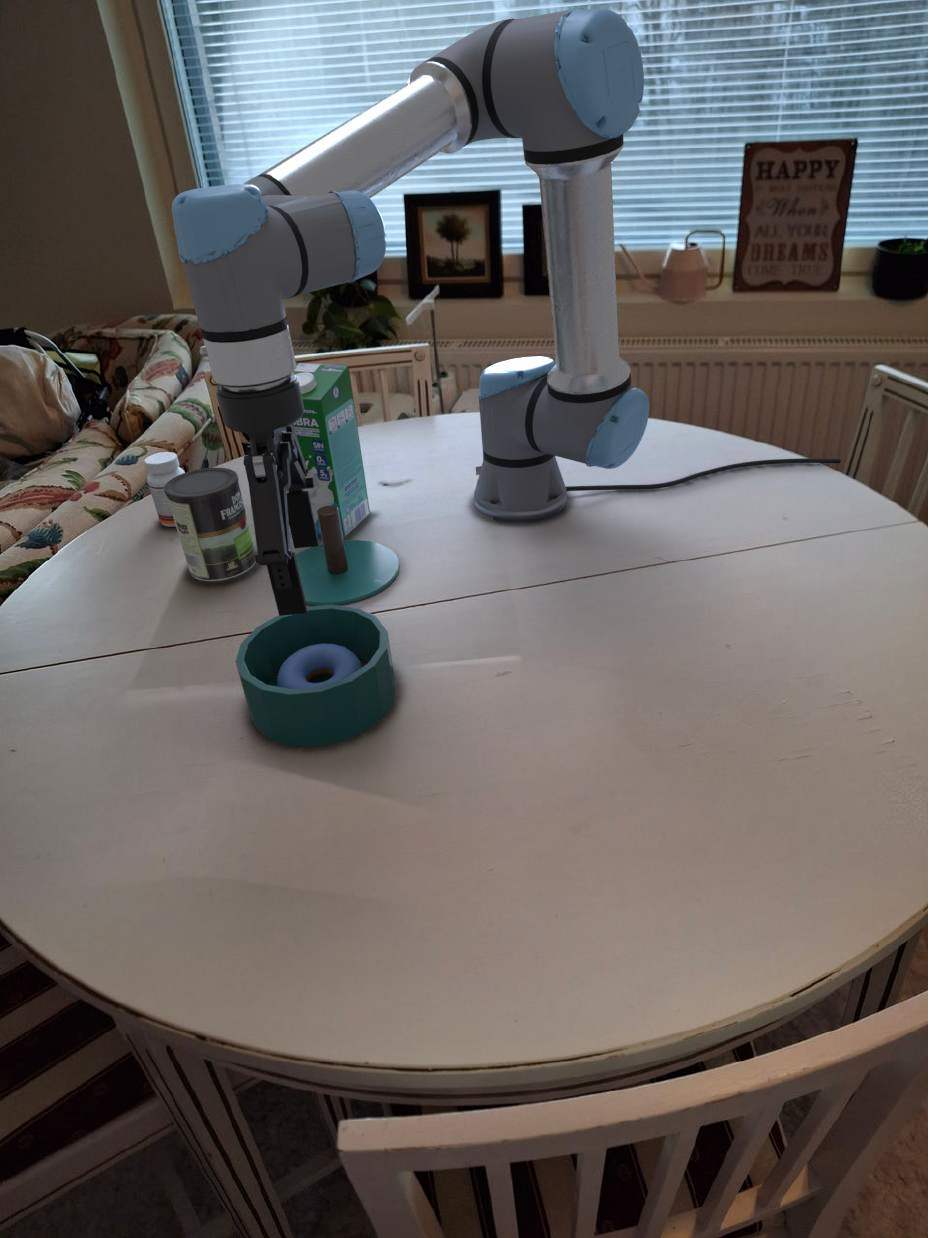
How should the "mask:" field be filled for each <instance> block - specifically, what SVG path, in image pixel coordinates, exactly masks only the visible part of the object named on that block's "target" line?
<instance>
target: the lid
mask: <svg viewBox="0 0 928 1238" xmlns="http://www.w3.org/2000/svg"><path fill="white" fill-rule="evenodd" d="M317 516H318V521H319V526H320V532H321V534H320V537H321V542H322V543H319V545H318V546H316V547H307V548H305V549H304V550H301V551H299V552H298V553H296V554H295V557H296V561H297V566H298V570H299V575H300V579H301V583H302V588H303V592H304V597H305V601H306V605H309V606H320V605H331V604H333V605H340V606H342V605H346V604H351V603H355V602H359V601H361V600H366V599H368V598H370V597H373V596H374V595H377V594H379V593H380V592H382V591H383V590H385V589H386V588H388V586H390V585H391V584H392V583H393V582H394V581H395V580H396V578H397V576H398V574H399V571H400V559H399V557H398V556H397V554H396V553H395V552H394V551H393V550H392V549H390V548H389V547H387V546H386V545H384V544H380V543H378V542H374V541H370V540H361V539H345V540H344V538H343V533H342V527H341V521H340V515H339V510H338V508H337V507H336V506H324V507H321V508H319V509H318V510H317Z"/></svg>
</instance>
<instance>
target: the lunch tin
mask: <svg viewBox="0 0 928 1238" xmlns="http://www.w3.org/2000/svg"><path fill="white" fill-rule="evenodd" d="M316 644H335V645H339V646H342V647H345V648H347V649H348V650H350V651H351V652H353V653H354V654H355V655H356V656H357V658H358V659H362V660H364V661H365V662H367V663H366V664H365V665H362V668H360V669H359V670H357V671H356V672H354V673H353V674H351V675H350V676H348V677H347V678H344V679H341V680H338V681H335V682H332V683H329V684H326V685H323V686H320V687H310V688H299V689H289V688H283V687H277V676H278V673H279V671H280V668H281V666H282V664H283V663H284V662H285V661H286V660H287V658H288V657H290V656H291V655H292V654H294V653H295V652H297V651H298V650H300V649H303V648H305V647H308V646H311V645H316ZM392 657H393V656H392V651H391V644H390V638H389V631H388V630H387V628H386V627H385V625H384V624H383V623H382V622H381V620H380V619H379V618H378V617H377V616H376V615H374V614H372V613H370V612H368V611H365V610H364V609H361V608H359V607H356V606H355V607H354V606H347V605H333V604H331V605H320V606H316V605H309V606H307V613H303V614H293V615H283V616H279V614H277V615H276V616H274V617H273V618H271V619H269V620H267V621H265V622H264V623H262V624H260V625H258V626H257V627H256V628H254V629H253V630H252V631H251V632H250V633H249V635H247V637H246V638H244V640H243V641H242V642H241V643H240V644H239V648H238V651H237V655H236V658H235V665H236V669H237V672H238V677H239V680H240V683H241V687H242V690H243V694H244V697H245V701H246V704H247V709H248V711H249V714H250V715H251V716H250V717H251V718H252V719H251V720H252V722H253V723H254V726H255V727H256V728H257V730H258V731H259V732H260V733H262V734H263V735H264V736H265V737H267V738H268V739H270V740H272V741H274V742H277V743H279V744H282V745H287V746H292V747H293V746H294V747H302V748H313V747H314V748H315V747H321V746H322V747H323V746H329V745H333V744H338V743H342V742H344V741H348V740H350V739H352V738H355V737H357V736H359V735H360V734H362V733H365V732H367V730H369V729H370V728H373V726H375V725H376V724H377V723H378V722H380V720H382V718H384V717H385V715H387V713H388V711H389V710H390V708H391V707H392V705H393V702H394V699H395V694H396V687H395V685H396V683H395V682H396V681H395V680H396V679H395V678H396V677H395V671H394V665H393V664H394V663H393V659H392ZM332 677H333V676H331V675H325V674H324V675H318V676H316V677H313V678H312V679H310V680H309V681H308V682H311V683H320V682H324V681H327V680H329V679H330V678H332Z"/></svg>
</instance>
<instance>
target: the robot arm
mask: <svg viewBox="0 0 928 1238" xmlns="http://www.w3.org/2000/svg"><path fill="white" fill-rule="evenodd" d="M643 63H644V62H643V58H642V53H641V49H640V45H639V43H638V39H637V38H636V36H635V33H634V32H633V30H632V28H631V27H630V26H629V25H628V24H627V21H625V19H624V18H623V17H622V15H620V14H618V12H617V13H616V12H615V11H613V10H611V9H607V8H583V7H581V8H572V9H568V10H561V11H556V12H550V13H543V14H539V15H538V14H537V15H533V16H526V17H519V18H506V19H501V20H498V21H495V22H491V23H489V24H487V25H484V26H483V27H480V28H478V29H476V30H474V31H473V32H470V33H469V34H467V35H466V36H463V37H462V38H460V39H459V40H456V41H455V42H454V43H452V44H450V45H449V46H447V47H446V48H444V49H442V50H441V51H439V52H438V53H436V54H435V55H433V56H431V57H430V58H428V59H426V60H424V61H423V62H420V64H418V65H417V66H415V67H414V69H413V70H412V71H411V73H410V75H409V77H408V81H407V84H405V85H404V86H402V87H400V88H399V89H397V90H395V91H393V92H392V93H390V94H389V95H387V96H386V97H384V98H382V99H381V100H379V101H377V102H375V103H374V104H372V105H371V106H369V107H367V108H366V109H364V110H363V111H361V112H359V113H358V114H356V115H354V116H353V117H351V118H349V119H347V120H346V121H345V122H343V123H341V124H339V125H338V126H336V127H335V128H333V129H331V130H330V131H328V132H326V133H325V134H323V135H321V136H320V137H319V138H316V139H315V140H313V141H312V142H310V143H308V144H307V145H305V146H304V147H302V148H300V149H298V150H297V151H295V152H294V153H292V154H290V155H289V156H288V157H286V158H284V159H282V160H281V161H279V162H278V163H276V164H274V165H272V166H271V167H269V168H268V169H266V170H264V171H263V172H261V173H260V174H258V175H256V176H254V177H252V178H250V179H248V180H246V181H245V182H243V183H235V184H224V185H216V186H207V187H206V186H205V187H199V188H193V189H189V190H185V191H183V192H181V193H179V194H177V195H176V196H175V198H174V199H173V200H172V203H171V214H172V219H173V229H174V233H175V237H176V243H177V248H178V257H179V260H180V261H181V263H182V266H183V270H184V274H185V278H186V282H187V285H188V288H189V293H190V296H191V300H192V304H193V307H194V311H195V315H196V319H197V323H198V326H199V329H200V333H201V336H202V341H203V344H204V345H202V346H199V353H200V356H202V357H203V358H208V361H209V363H208V364H209V368H210V369H209V370H210V372H211V373H210V374H211V376H212V380H213V381H214V382H215V383H216V384H218V385H217V387H216V389H215V395H216V399H217V402H218V407H219V411H220V413H221V418H222V422H223V424H224V425H225V427H226V428H227V429H229V430H231V431H233V432H236V433H243V434H245V435H247V436H248V437H249V445H247V446H246V455H243V461H242V463H243V466H244V469H245V475H246V478H247V483H248V490H249V497H250V505H251V512H252V519H253V528H254V529H253V530H254V536H255V542H256V551H257V554H256V555H255V560H256V563H257V564H258V565H259V566H261V567H262V566H266V569H267V573H268V577H269V580H270V584H271V589H272V593H273V596H274V597H273V598H274V600H275V605H276V609H277V613H278V615H279V616H283V615H293V614H303V613H307V607H308V606H307V604H306V601H305V597H304V592H303V588H302V583H301V579H300V575H299V570H298V566H297V561H296V557H295V555H296V554H295V552H293V551H292V546H291V541H292V544H293V548H294V549H295V550H296V549H304V548H305V549H307V548H311V547H316V546H318V545H320V542H319V536H318V534H317V531H316V526H315V522H314V517H313V512H312V507H311V502H310V497H309V492H308V491H304V489H309V488H314V480H313V478H306V476H308V469H307V467H306V464H305V460H304V457H303V454H302V451H301V448H300V445H299V442H298V439H297V436H296V433H295V430H294V426H293V423H295V422H296V421H298V420H299V419H300V418H301V417H302V415H303V413H304V406H303V401H302V395H301V390H300V385H299V380H298V378H297V377H296V376H295V375H294V374H293V372H294V371H295V369H296V364H297V362H296V356H295V351H294V347H293V341H292V336H291V332H290V327H289V324H288V320H287V311H286V306H285V300H288V299H292V298H295V297H298V296H301V295H305V294H309V293H312V292H316V291H320V290H323V289H328V288H331V287H334V286H338V285H342V284H346V283H348V284H351V283H354V282H355V281H357V280H359V279H361V278H363V277H366V276H368V275H371V274H373V273H374V272H376V271H377V270H378V269H379V268H380V266H381V265H382V263H383V261H384V259H385V255H386V251H387V238H386V236H387V235H386V231H385V223H384V219H383V217H382V215H381V212H380V211H379V209H378V207H377V205H376V204H375V203H374V201H373V200H372V198H373V197H374V196H376V195H378V194H379V193H381V192H382V191H384V190H385V189H386V188H388V187H389V186H391V185H392V184H394V183H395V182H397V181H398V180H400V179H401V178H403V177H405V176H406V175H408V174H409V173H411V172H412V171H413V170H415V169H416V168H418V167H419V166H421V165H422V164H424V163H425V162H427V161H429V160H430V159H431V158H433V157H435V156H436V155H437V154H440V153H443V154H455V153H457V152H459V151H460V150H462V149H463V148H465V147H466V146H468V145H470V144H473V143H475V142H480V141H485V140H495V139H521V143H522V149H523V150H522V152H523V160H524V164H525V165H526V166H527V167H528V168H529V169H530V170H532V171H533V172H534V173H535V174H536V175H537V177H538V182H539V193H540V194H539V195H540V204H541V215H542V226H543V235H544V244H545V245H544V247H545V257H546V259H545V260H546V269H547V281H548V289H549V301H550V311H551V322H552V332H553V334H552V335H553V343H554V354H555V361H554V360H553V359H552V358H551V357H548V356H523V357H518V358H511V359H506V360H503V361H500V362H497V363H494V364H492V365H490V366H488V367H486V368H485V369H484V370H483V371H482V372H481V373H480V376H479V380H478V381H479V383H478V386H479V387H478V388H479V390H478V391H479V393H478V397H477V398H478V406H479V407H478V408H479V418H480V431H481V434H480V435H481V447H482V463H481V465H479V466H475V475H476V476H478V478H477V481H476V486H475V488H474V492H473V496H474V499H473V500H474V505H475V508H476V509H477V510H478V511H479V512H480V513H481V514H484V515H485V516H487V517H490V518H492V519H493V520H494V521H500V522H504V523H530V522H536V521H541V520H544V519H547V518H551V517H553V516H555V515H557V514H558V513H560V512H561V511H562V510H563V509H564V508H565V507H566V504H567V502H568V501H567V499H568V498H567V496H568V495H567V494H568V492H583V491H584V492H585V491H619V490H620V491H623V490H624V491H625V490H626V491H629V490H634V491H635V490H637V491H639V490H656V489H664V488H669V487H674V486H678V485H681V484H683V483H687V482H689V481H692V480H695V479H698V478H701V477H706V476H709V475H713V474H717V473H721V472H725V471H730V470H734V469H740V468H747V467H754V466H767V465H783V464H787V465H788V464H841V461H842V459H841V458H820V457H819V458H815V457H814V458H812V457H811V458H810V457H809V458H807V457H805V458H802V457H801V458H777V459H776V458H775V459H761V460H760V459H759V460H753V461H744V462H738V463H733V464H728V465H723V466H719V467H715V468H710V469H708V470H703V471H700V472H696V473H693V474H690V475H688V476H684V477H681V478H678V479H676V480H672V481H667V482H661V483H659V482H658V483H651V484H648V483H647V484H606V485H605V484H604V485H602V484H599V485H570V486H569V485H568V486H566V484H565V481H564V478H563V475H562V473H561V469H560V466H559V463H558V461H557V457H558V458H561V459H566V460H570V461H574V462H577V463H582V464H585V465H586V466H587V467H591V468H593V467H597V468H601V469H606V470H612V469H616V468H618V467H621V466H622V465H624V464H625V463H627V461H628V460H630V458H631V457H632V456H633V454H634V453H635V451H636V450H637V449H638V447H639V445H640V443H641V441H642V440H643V437H644V434H645V432H646V429H647V426H648V421H649V418H650V417H649V416H650V400H649V397H648V395H647V394H646V392H645V391H644V390H641V388H638V387H633V386H632V370H631V366H630V364H629V363H628V362H627V361H626V360H625V359H623V358H622V357H620V346H619V345H620V344H619V326H618V325H619V324H618V322H619V321H618V298H617V297H618V296H617V276H616V271H617V270H616V250H615V249H616V248H615V226H614V224H615V223H614V203H613V202H614V201H613V178H612V175H613V173H612V165H613V162H614V160H615V159H616V158H617V157H618V156H619V154H620V153H621V152H622V150H623V149H624V147H625V146H624V145H625V143H624V135H625V134H626V133H628V131H629V130H630V129H631V128H632V127H633V126H634V125H635V123H636V120H637V119H638V117H639V115H640V113H641V109H640V106H639V105H640V104H641V103H642V101H643V99H644V91H645V71H644V64H643ZM288 491H289V493H288ZM291 539H292V540H291Z"/></svg>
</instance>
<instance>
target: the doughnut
mask: <svg viewBox="0 0 928 1238" xmlns="http://www.w3.org/2000/svg"><path fill="white" fill-rule="evenodd" d="M362 667H363V664H362V662H361V660H360V658H357V656H356V655H355V654H354V653H353V652H351V651H350V650H348V649H347V648H345V647H342V646H339V645H335V644H316V645H311V646H308V647H305V648H303V649H300V650H298V651H297V652H295V653H294V654H292V655H291V656H290V657H288V658H287V660H286V661H285V662H284V663H283V664H282V666H281V668H280V671H279V673H278V674H277V675H276V677H277V687H283V688H289V689H299V688H310V687H320V686H323V685H326V684H329V683H332V682H335V681H338V680H341V679H344V678H347V677H348V676H350V675H351V674H353V673H354V672H356V671H357V670H359V669H360V668H362ZM324 674H325V675H331V676H333V677H332V678H330V679H329V680H327V681H324V682H320V683H311V682H308V681H309V680H310V679H312V678H313V677H316V676H318V675H324Z"/></svg>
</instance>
